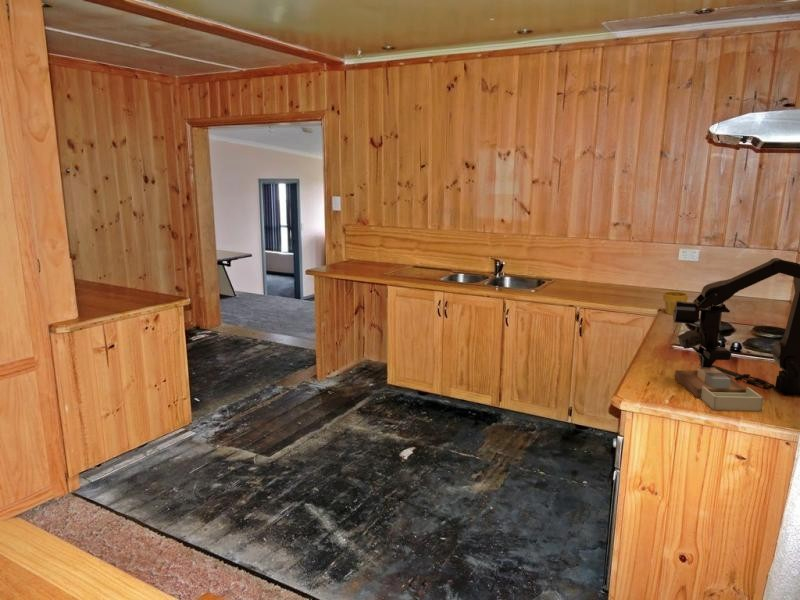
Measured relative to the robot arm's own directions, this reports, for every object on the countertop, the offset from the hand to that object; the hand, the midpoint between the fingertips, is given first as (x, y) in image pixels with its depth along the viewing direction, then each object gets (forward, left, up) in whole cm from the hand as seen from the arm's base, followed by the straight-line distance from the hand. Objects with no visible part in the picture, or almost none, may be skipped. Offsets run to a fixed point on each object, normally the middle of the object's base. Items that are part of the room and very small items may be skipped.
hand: (704, 372), depth 175 cm
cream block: (0, +4, -1) cm, 4 cm away
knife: (-13, -8, -5) cm, 16 cm away
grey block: (0, +9, -1) cm, 9 cm away
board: (0, +4, -4) cm, 6 cm away
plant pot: (-27, -93, -4) cm, 97 cm away
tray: (-1, +16, -4) cm, 17 cm away
